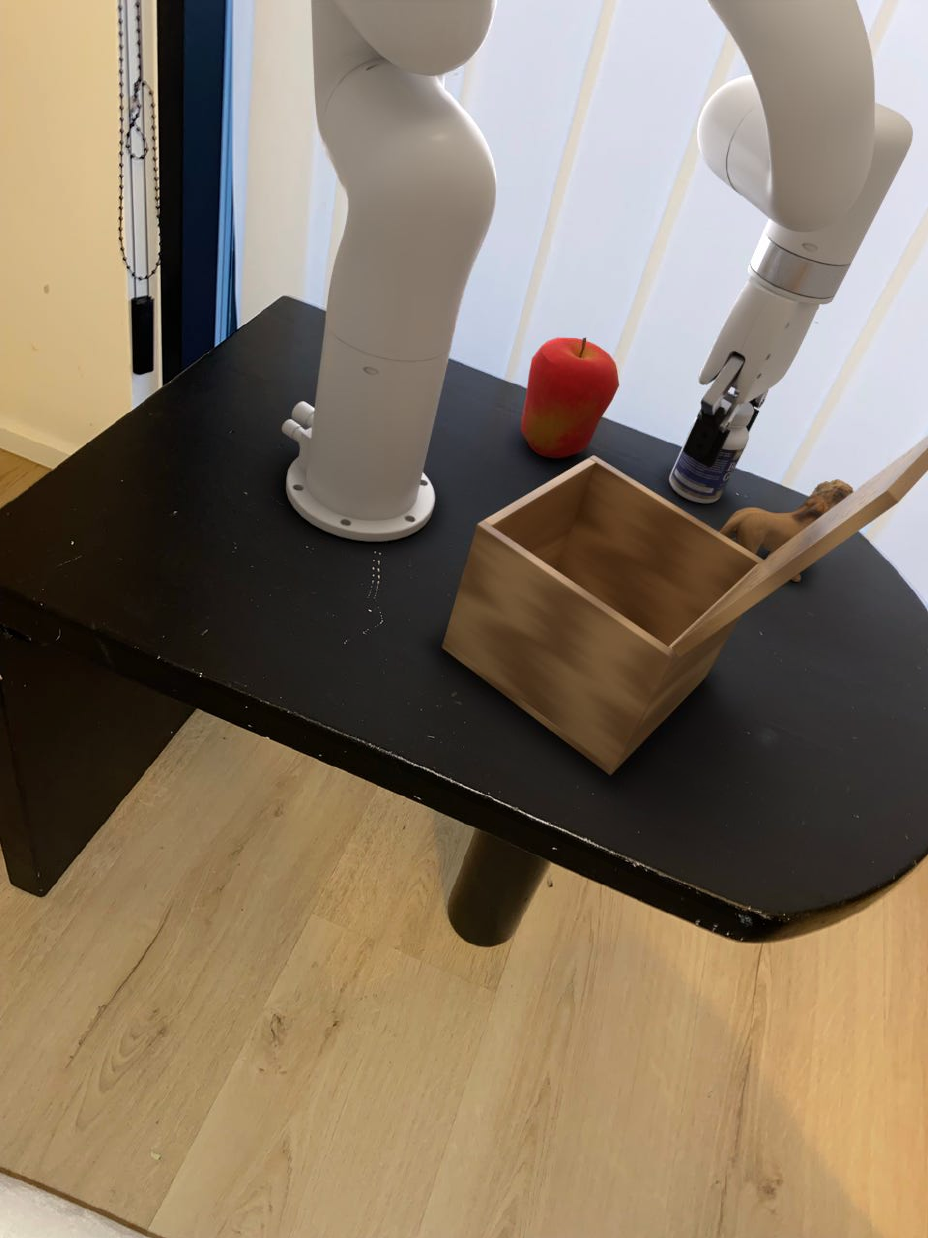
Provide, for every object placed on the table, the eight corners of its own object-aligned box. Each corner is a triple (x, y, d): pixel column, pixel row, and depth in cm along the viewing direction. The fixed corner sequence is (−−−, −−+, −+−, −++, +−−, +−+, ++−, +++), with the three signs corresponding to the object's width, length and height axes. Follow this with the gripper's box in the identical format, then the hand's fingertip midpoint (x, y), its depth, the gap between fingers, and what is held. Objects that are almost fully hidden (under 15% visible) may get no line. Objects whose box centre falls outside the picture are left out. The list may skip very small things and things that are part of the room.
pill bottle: (720, 511, 91) (763, 425, 85) (666, 495, 91) (705, 408, 85) (719, 481, 95) (760, 397, 89) (668, 466, 95) (706, 381, 89)
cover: (887, 489, 44) (899, 502, 44) (970, 403, 54) (980, 413, 53) (670, 647, 56) (679, 658, 56) (770, 554, 66) (777, 563, 66)
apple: (594, 479, 91) (635, 369, 83) (509, 461, 90) (542, 348, 82) (589, 431, 97) (627, 325, 89) (509, 414, 96) (540, 305, 88)
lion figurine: (793, 541, 90) (838, 463, 84) (830, 577, 87) (879, 500, 81) (674, 561, 84) (714, 479, 78) (709, 602, 81) (753, 519, 75)
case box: (441, 647, 70) (476, 524, 62) (551, 570, 79) (593, 454, 71) (610, 776, 64) (672, 658, 56) (706, 676, 74) (770, 564, 66)
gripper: (798, 231, 85) (719, 405, 97) (713, 266, 74) (635, 458, 86) (874, 266, 83) (782, 440, 95) (797, 308, 71) (704, 500, 83)
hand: (713, 447), depth 90 cm, fingers closed on pill bottle, 5 cm apart
